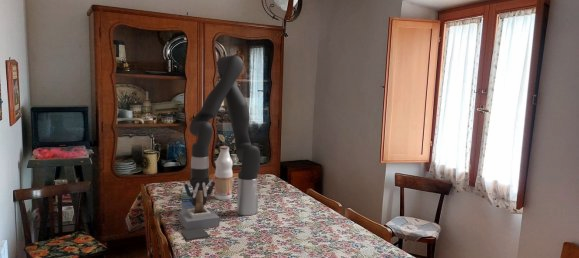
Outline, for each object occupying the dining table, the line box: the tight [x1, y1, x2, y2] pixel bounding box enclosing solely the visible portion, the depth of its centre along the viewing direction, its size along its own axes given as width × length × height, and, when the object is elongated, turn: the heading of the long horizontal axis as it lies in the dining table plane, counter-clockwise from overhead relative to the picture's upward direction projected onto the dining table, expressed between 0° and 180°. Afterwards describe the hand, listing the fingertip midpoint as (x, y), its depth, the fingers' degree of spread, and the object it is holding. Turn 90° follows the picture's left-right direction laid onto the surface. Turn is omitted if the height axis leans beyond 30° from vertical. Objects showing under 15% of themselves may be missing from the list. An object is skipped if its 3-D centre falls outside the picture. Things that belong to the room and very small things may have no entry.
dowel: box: [195, 189, 203, 213], centre depth 165 cm, size 4×4×10 cm
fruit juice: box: [214, 145, 234, 201], centre depth 203 cm, size 9×9×28 cm
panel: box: [178, 206, 221, 231], centre depth 166 cm, size 14×14×6 cm
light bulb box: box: [180, 187, 205, 211], centre depth 180 cm, size 11×7×11 cm, turn 105°
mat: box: [180, 228, 210, 241], centre depth 153 cm, size 9×9×1 cm
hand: (198, 204), depth 165 cm, fingers closed on dowel, 3 cm apart
